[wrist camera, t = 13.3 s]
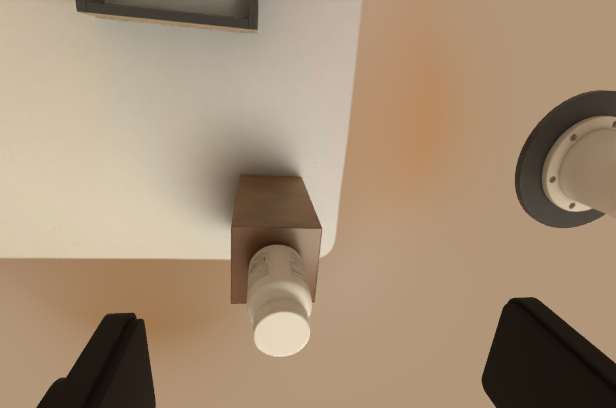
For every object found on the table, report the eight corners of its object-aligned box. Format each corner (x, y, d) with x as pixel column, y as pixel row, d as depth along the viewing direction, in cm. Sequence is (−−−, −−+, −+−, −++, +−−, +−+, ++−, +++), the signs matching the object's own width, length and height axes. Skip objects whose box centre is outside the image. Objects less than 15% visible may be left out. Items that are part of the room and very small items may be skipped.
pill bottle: (248, 290, 28) (244, 365, 21) (249, 242, 27) (245, 305, 20) (301, 290, 29) (315, 362, 22) (305, 243, 27) (321, 304, 20)
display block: (301, 176, 40) (322, 228, 27) (297, 231, 43) (314, 302, 30) (239, 174, 39) (231, 226, 26) (239, 230, 42) (230, 304, 29)
